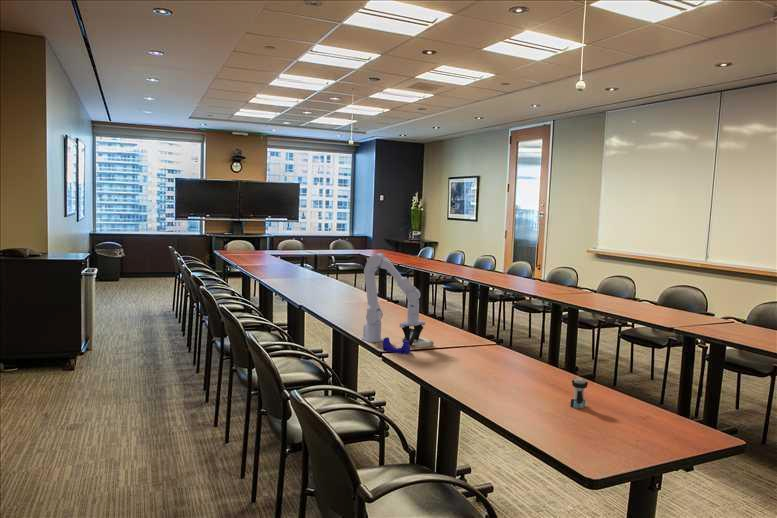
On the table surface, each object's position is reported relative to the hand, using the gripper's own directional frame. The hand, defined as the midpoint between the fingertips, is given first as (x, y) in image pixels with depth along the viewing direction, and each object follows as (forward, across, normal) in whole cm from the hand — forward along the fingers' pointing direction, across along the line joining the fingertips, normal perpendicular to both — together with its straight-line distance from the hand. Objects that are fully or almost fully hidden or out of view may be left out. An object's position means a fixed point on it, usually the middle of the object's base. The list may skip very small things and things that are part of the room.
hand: (412, 340), depth 273 cm
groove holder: (+2, +4, 0) cm, 4 cm away
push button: (+2, 0, -98) cm, 98 cm away
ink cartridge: (+1, -3, 0) cm, 3 cm away
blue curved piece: (+2, -15, -8) cm, 17 cm away
